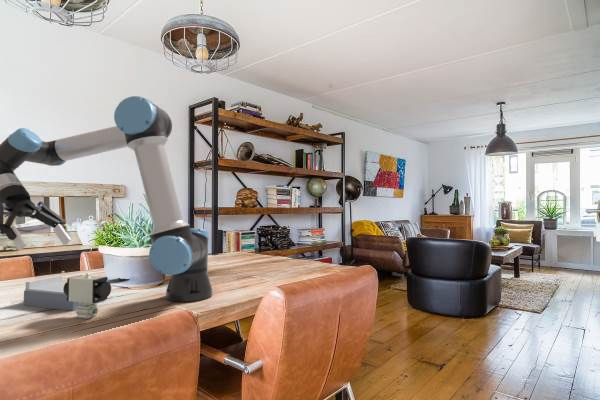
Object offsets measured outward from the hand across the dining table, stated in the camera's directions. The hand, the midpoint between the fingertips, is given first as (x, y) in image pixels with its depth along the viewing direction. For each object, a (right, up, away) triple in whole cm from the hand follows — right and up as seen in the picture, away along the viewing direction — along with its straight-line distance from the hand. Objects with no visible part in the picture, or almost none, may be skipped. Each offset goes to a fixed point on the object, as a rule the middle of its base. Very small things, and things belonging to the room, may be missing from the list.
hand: (46, 244), depth 105 cm
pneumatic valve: (+15, -20, -5) cm, 25 cm away
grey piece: (-2, -19, +9) cm, 21 cm away
